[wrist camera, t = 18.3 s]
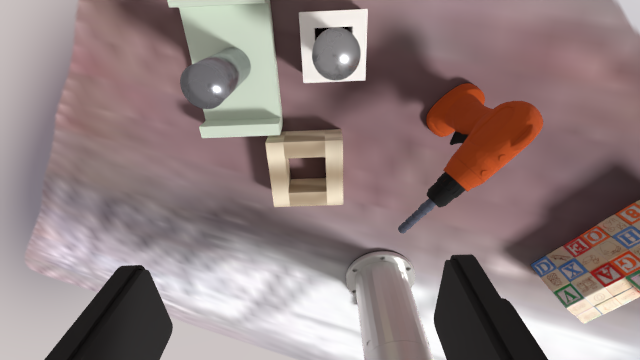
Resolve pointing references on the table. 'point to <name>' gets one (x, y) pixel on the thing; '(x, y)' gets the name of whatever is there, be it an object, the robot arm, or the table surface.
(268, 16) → the tray
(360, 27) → the housing
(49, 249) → the table surface
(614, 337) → the table surface
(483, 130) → the toy drill
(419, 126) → the table surface
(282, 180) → the socket
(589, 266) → the stack of blocks
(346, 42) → the grey ball-topped peg
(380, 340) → the robot arm
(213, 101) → the grey round peg
